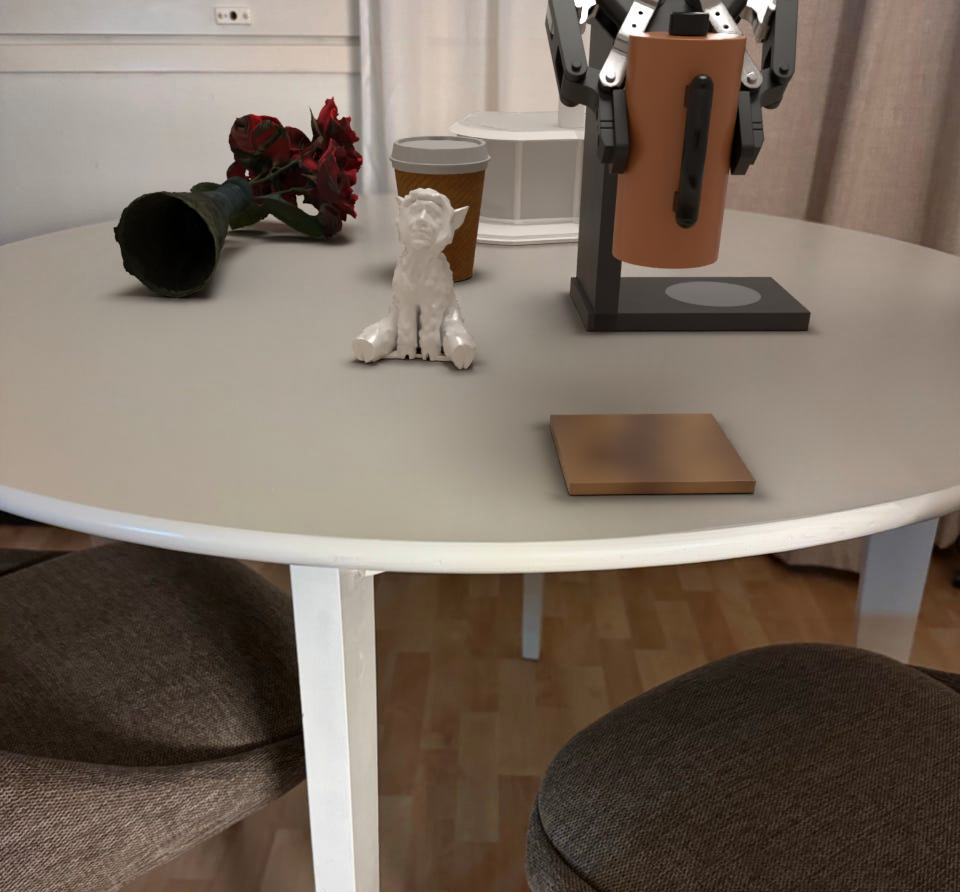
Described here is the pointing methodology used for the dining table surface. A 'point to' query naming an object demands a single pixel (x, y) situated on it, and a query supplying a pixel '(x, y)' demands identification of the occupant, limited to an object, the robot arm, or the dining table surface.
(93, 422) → the dining table surface
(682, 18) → the thermos flask
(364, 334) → the white creature statuette
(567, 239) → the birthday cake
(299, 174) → the red rose bouquet
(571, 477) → the trivet
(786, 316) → the coffee maker
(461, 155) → the disposable coffee cup
